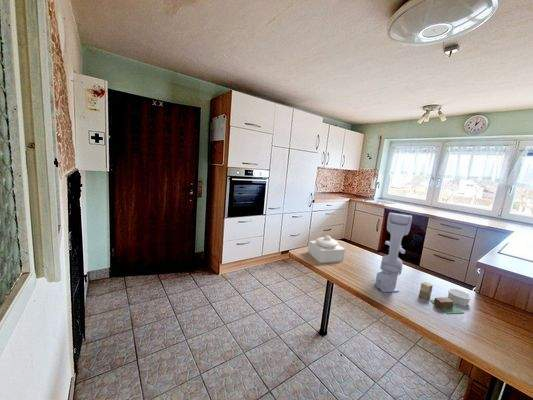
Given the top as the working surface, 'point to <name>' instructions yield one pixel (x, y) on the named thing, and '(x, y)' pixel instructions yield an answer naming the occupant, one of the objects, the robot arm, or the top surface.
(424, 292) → the maple block
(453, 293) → the ramekin
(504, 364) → the top surface
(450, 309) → the mat
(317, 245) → the white lidded box
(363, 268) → the top surface
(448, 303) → the walnut block
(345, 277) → the top surface
